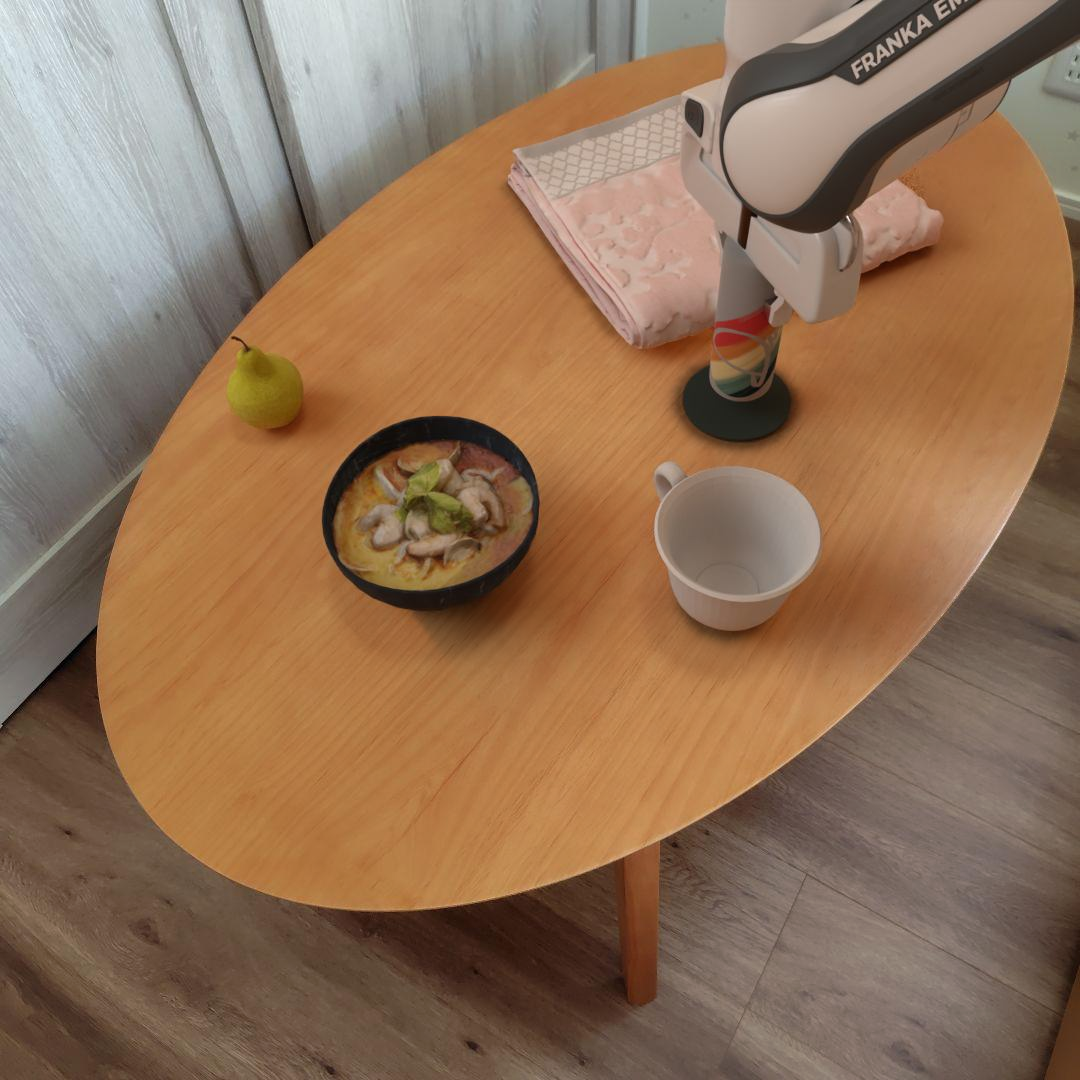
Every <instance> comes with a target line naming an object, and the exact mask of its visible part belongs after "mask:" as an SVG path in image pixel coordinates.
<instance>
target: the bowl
mask: <svg viewBox="0 0 1080 1080" xmlns="http://www.w3.org/2000/svg"><path fill="white" fill-rule="evenodd" d="M540 506H541V501H540V492H539V485H538V482H537V478H536V474H535V472H534V470H533V467H532V465H531V463H530V461H529V459H528V457H526V455H525V454H524V452H523V451H522V450H521V449H520V448H519V447H518V446H517V444H516V443H515V442H514V441H512V440H511V439H510V438H509V437H507V436H506V435H505V434H503V433H502V432H501V431H499V430H497V429H496V428H494V427H492V426H490V425H487V424H486V423H484V422H480V421H477V420H475V419H471V418H466V417H461V416H451V415H428V416H418V417H413V418H409V419H405V420H401V421H399V422H396V423H393V424H391V425H389V426H386V427H384V428H382V429H380V430H378V431H377V432H375V433H374V434H372V435H370V436H368V438H366V439H365V440H364V441H362V442H360V444H358V445H357V446H356V448H355V449H353V450H352V451H351V452H350V453H349V454H348V455H347V457H345V459H344V461H342V463H341V464H340V465H339V467H338V469H337V470H336V472H335V473H334V475H333V477H332V479H331V481H330V483H329V485H328V488H327V490H326V494H325V496H324V501H323V505H322V511H321V528H322V536H323V539H324V543H325V545H326V548H327V550H328V553H329V555H330V557H331V558H332V561H333V562H334V563H335V565H336V567H337V568H338V569H339V571H340V572H341V574H342V575H343V576H344V578H346V579H347V580H348V581H349V582H350V583H352V584H353V586H355V587H356V588H357V589H358V590H359V591H361V593H364V594H366V596H368V597H370V598H372V599H373V600H376V601H378V602H381V603H384V604H386V605H388V606H391V607H394V608H397V609H403V610H408V611H415V612H442V611H447V610H451V609H455V608H460V607H464V606H467V605H469V604H471V603H473V602H476V601H478V600H481V599H484V597H486V596H487V595H489V594H490V593H492V592H493V591H494V590H496V589H497V588H499V587H500V586H501V585H502V584H504V582H505V581H506V580H508V579H509V578H510V577H511V575H512V574H513V573H514V572H515V571H516V570H517V569H518V568H519V566H520V564H521V563H522V562H523V560H524V559H525V557H526V555H527V554H528V552H529V550H530V548H531V546H532V543H533V542H534V540H535V537H536V534H537V530H538V527H539V520H540V519H539V518H540V508H541V507H540Z"/></svg>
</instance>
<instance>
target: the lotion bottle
mask: <svg viewBox="0 0 1080 1080" xmlns="http://www.w3.org/2000/svg"><path fill="white" fill-rule="evenodd" d="M741 205H742V207H741V214H740V222H739V229H738V237H737V241H738V244H739V245H740V246H741V247H742V248H743V249H745V250H746V246H747V240H748V234H749V228H750V222H751V216H752V217H755V218H757V217H758V215H757V214H755V213H754V212H752V211H751V210H750V209H749V208H747V207H746V206H745V205H744V204H743V203H742V202H741ZM738 244H737V243H736V242H735V241H734V240H733V239H732V238H731V237H729V236H727V237H726V240H725V243H724V249H723V257H722V265H721V274H720V283H719V291H718V300H717V309H716V318H715V326H713V335H712V345H711V352H710V360H709V361H710V362H709V365H710V374H709V378H710V383H711V386H712V387H713V389H714V390H715V391H716V392H717V393H718V394H719V395H721V396H722V397H724V398H726V399H729V400H733V401H740V402H744V401H751V400H755V399H757V398H759V397H761V396H762V395H764V394H765V393H766V392H767V391H768V389H769V388H770V386H771V383H772V379H773V375H774V373H775V369H776V365H777V359H778V354H779V350H780V343H781V339H782V333H783V329H784V324H783V325H780V326H777V327H772V325H771V324H770V323H769V322H768V321H767V319H766V318H765V317H764V316H763V311H764V302H765V300H768V299H771V298H776V297H777V296H776V295H775V293H774V289H775V288H774V287H773V286H772V285H771V284H770V282H769V281H768V280H767V279H766V278H765V277H764V276H763V275H762V273H761V272H760V271H759V270H758V269H757V268H756V266H755V265H754V263H753V262H752V261H751V259H750V258H749V257H748V255H747V254H746V253H745V252H744V251H743V249H742V248H741V247H740V246H739V245H738Z"/></svg>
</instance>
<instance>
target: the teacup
mask: <svg viewBox="0 0 1080 1080" xmlns="http://www.w3.org/2000/svg"><path fill="white" fill-rule="evenodd" d="M653 485H654V488H655V491H656V494H657V496H658V499H659V500H660V503H659V505H658V507H657V510H656V512H655V517H654V522H653V523H654V525H653V532H654V541H655V544H656V548H657V550H658V553H659V555H660V558H661V559H662V561H663V562H664V564H665V565H666V568H667V572H668V578H669V582H670V586H671V589H672V590H671V591H672V592H673V595H674V597H675V599H676V601H677V602H678V604H679V605H680V607H681V608H682V609H683V611H684V612H685V613H687V614H688V615H689V616H690V617H691V618H693V619H694V620H695V621H697V622H698V623H700V624H702V625H704V626H706V627H709V628H712V629H715V630H720V631H726V632H728V631H729V632H736V631H737V632H738V631H739V632H740V631H744V630H749V629H751V628H754V627H758V626H760V625H761V624H763V623H765V622H767V621H768V620H769V619H770V618H772V617H773V616H774V615H775V614H776V613H778V611H779V610H780V609H781V607H782V606H783V605H784V604H785V602H786V600H787V599H788V597H789V596H790V594H791V592H792V591H793V589H795V588H796V587H798V586H799V585H801V583H803V582H804V581H805V580H807V578H808V577H809V576H810V575H811V574H812V572H813V571H814V569H815V567H816V566H817V564H818V563H819V561H820V558H821V555H822V551H823V542H824V536H823V535H824V534H823V528H822V523H821V520H820V518H819V515H818V513H817V511H816V509H815V508H814V506H813V504H812V502H810V500H809V499H808V498H807V496H805V494H804V493H803V492H802V491H801V490H800V489H799V488H797V487H796V486H795V485H793V484H792V483H791V482H789V481H787V480H785V479H784V478H782V477H780V476H778V475H777V474H773V473H771V472H768V471H765V470H762V469H758V468H754V467H748V466H742V465H741V466H740V465H724V466H722V465H721V466H715V467H711V468H707V469H703V470H700V471H698V472H695V473H693V474H690V475H687V473H686V471H685V470H684V469H683V467H682V466H680V464H678V463H677V462H674V461H671V460H667V461H665V462H663V463H661V464H659V465H658V466H657V467H656V469H655V471H654V473H653Z"/></svg>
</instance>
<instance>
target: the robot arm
mask: <svg viewBox="0 0 1080 1080" xmlns="http://www.w3.org/2000/svg"><path fill="white" fill-rule="evenodd" d="M724 8H725V10H724V18H723V28H722V29H723V30H722V31H723V32H722V38H723V45H724V50H725V57H726V58H725V59H726V60H725V63H726V64H725V67H724V72H723V75H722V77H719V78H716V79H712V80H710V81H707V82H704V83H702V84H698V85H695V86H694V87H691V88H688V89H686V90H684V91H682V92H681V93H680V94H681V100H680V112H681V116H682V118H683V120H684V122H683V125H682V130H681V144H680V172H681V176H682V180H683V183H684V186H685V188H686V190H687V191H688V192H689V193H690V194H691V195H692V197H693V198H694V199H695V200H696V201H697V202H698V203H699V204H700V205H701V207H702V208H703V209H704V210H705V211H706V212H707V213H708V214H709V216H710V217H711V218H712V219H713V220H714V229H715V233H716V237H717V241H718V245H719V249H720V256H719V265H720V266H721V265H722V257H723V249H724V243H725V240H726V237H727V236H729V237H731V238H732V239H733V240H734V241H735V242H736V243H737V244H738V241H737V237H738V229H739V222H740V214H741V207H742V205H741V202H742V203H743V204H744V205H745V206H746V207H747V208H749V209H750V210H751V211H752V212H754V213H755V214H757V215H758V217H757V218H755V217H752V216H751V222H750V228H749V234H748V240H747V246H746V250H745V249H743V248H742V247H741V246H740V245H739V244H738V245H739V246H740V247H741V248H742V249H743V251H744V252H745V253H746V254H747V255H748V257H749V258H750V259H751V261H752V262H753V263H754V265H755V266H756V268H757V269H758V270H759V271H760V272H761V273H762V275H763V276H764V277H765V278H766V279H767V280H768V281H769V282H770V284H771V285H772V286H773V287H774V288H775V289H774V293H775V295H776V296H777V297H776V298H771V299H768V300H765V302H764V311H763V316H764V317H765V318H766V319H767V321H768V322H769V323H770V324H771V325H772V327H777V326H780V325H783V326H784V325H785V324H788V323H789V322H790V321H791V319H792V317H793V316H792V315H793V312H795V313H796V314H797V315H798V317H800V318H801V319H802V321H803V322H804V323H805V324H808V325H817V324H821V323H825V322H828V321H830V320H834V319H836V318H839V317H841V316H842V315H845V314H847V313H848V312H850V311H851V310H852V309H853V308H854V306H855V304H856V301H857V296H858V293H859V286H860V280H861V275H862V273H861V267H862V259H863V233H862V229H861V226H860V224H859V222H858V221H857V219H856V218H855V216H854V215H853V211H854V210H856V209H857V208H858V207H860V206H861V205H862V204H863V203H864V201H865V200H866V199H868V198H870V197H871V196H873V195H874V194H876V193H877V192H879V191H880V190H882V189H883V188H885V187H886V186H888V185H889V184H891V183H892V182H894V181H895V180H897V179H898V180H899V179H900V178H902V177H904V175H907V173H909V172H911V171H912V170H913V169H916V168H917V167H918V166H920V165H922V163H924V162H926V161H927V160H929V159H931V157H933V156H934V155H936V154H937V153H939V152H941V151H943V150H944V149H945V148H946V147H949V146H950V145H951V144H953V143H955V142H956V141H958V140H959V139H960V138H962V137H963V136H965V135H966V134H968V133H969V132H971V130H973V129H974V128H976V127H977V126H978V125H980V124H981V123H982V122H984V121H986V120H987V119H988V118H990V116H992V115H993V114H994V113H995V111H996V110H997V109H998V108H999V107H1000V105H1001V104H1002V102H1003V101H1004V99H1005V98H1006V95H1007V93H1008V91H1009V88H1010V86H1011V84H1012V80H1013V79H1015V78H1016V77H1018V76H1020V75H1021V74H1023V73H1024V72H1026V71H1028V70H1029V69H1032V68H1033V67H1035V66H1037V65H1038V64H1040V63H1042V62H1044V61H1046V60H1047V59H1049V58H1051V57H1054V56H1055V55H1057V54H1059V53H1061V52H1063V51H1065V50H1066V49H1069V48H1071V47H1073V46H1075V45H1077V44H1079V43H1080V0H725V7H724Z"/></svg>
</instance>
